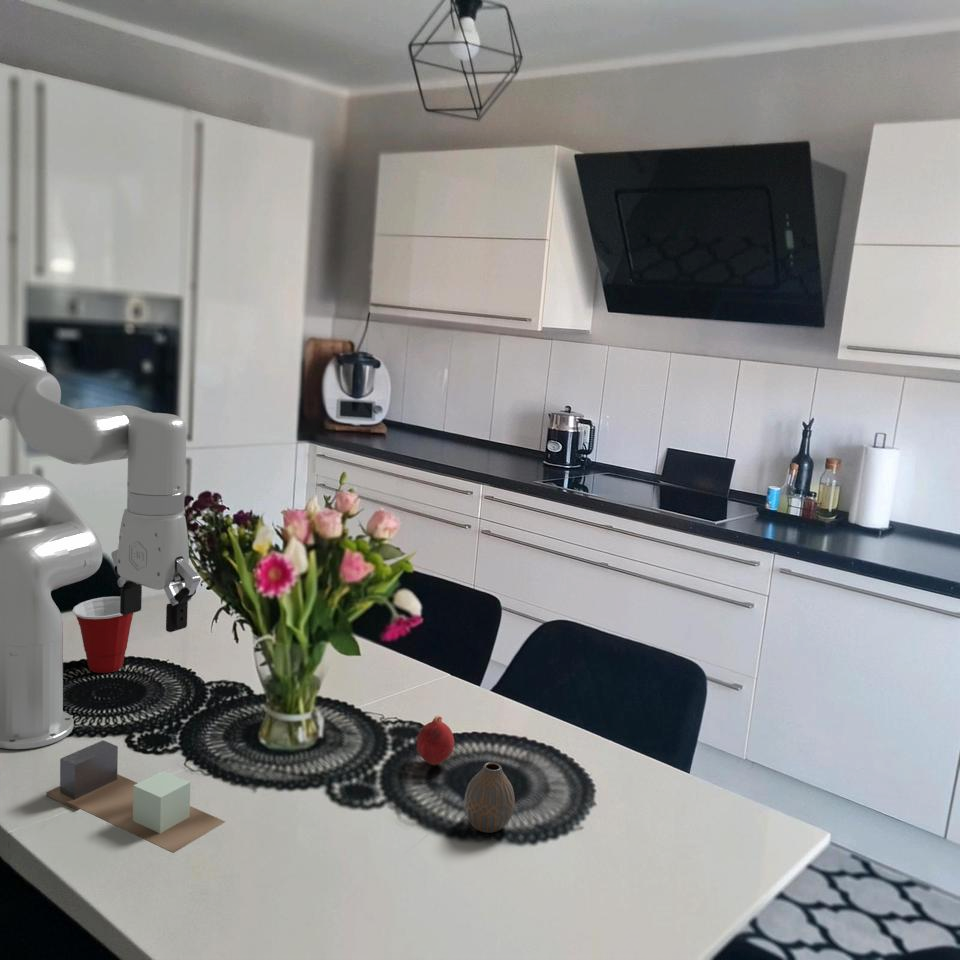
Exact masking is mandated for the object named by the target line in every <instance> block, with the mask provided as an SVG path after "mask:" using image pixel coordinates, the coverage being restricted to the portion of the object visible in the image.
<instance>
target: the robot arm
mask: <svg viewBox="0 0 960 960" xmlns="http://www.w3.org/2000/svg"><path fill="white" fill-rule="evenodd" d="M61 389H62V388H61V386H60V383H59V381H58V379H57V378H56V377H55V376H54V375H53V374H51V373H50V372H48V370H47V367H46V364H45V362H44V360H43V359H42V357H41V356H40V355H39V354H38V353H37V352H36V351H34V350H32V349H31V348H28V347H27V346H22V345H20V344H19V345H17V344H16V345H15V344H4V345H3V344H2V345H0V421H1V420H3V419H5V420H9V421H10V422H13V423H14V424H15V426H16V429H17V430H18V433H19V435H21V437H22V438H23V439H24V441H25V442H26V444H27V445H28V446H30V447H31V448H33V449H35V450H36V451H38V452H40V453H42V454H45V455H47V456H50V457H51V458H54V459H57V460H59V461H61V462H64V463H67V464H71V465H77V466H88V465H92V464H98V463H100V464H101V463H105V462H110V461H111V462H112V461H119V460H125V459H127V483H126V485H127V489H126V490H127V493H126V494H127V495H126V496H127V497H126V499H127V500H126V508H124V511H123V514H122V517H121V521H120V527H119V532H118V533H119V535H118V543H117V545H118V546H117V549H116V550H114V551H112V552H111V559H112V562H113V566H114V572H115V575H116V576H117V585H118V587H119V588H120V594H119V595H120V596H119V597H120V613H121V614H122V615H127V614H131V613H133V614H134V613H138V612H141V610H142V601H143V600H142V596H143V592H142V591H143V589H142V588H143V587H142V586H144V587H147V588H149V589H152V590H154V591H155V590H156V591H160V590H161V591H162V590H163V591H164V592H165V595H166V596H167V599H168V601H169V603H167V604H166V608H165V609H166V610H165V611H166V614H165V616H166V617H165V630H166V632H168V633H172V632H173V633H174V632H176V631H179V630H183V629H185V628H187V626H188V606H189V605H188V604H189V602H191V600H192V598H193V596H195V594H196V593H197V588H198V586H199V584H200V582H201V577H200V575H199V574H198V573H197V572H196V571H195V570H194V569H193V568H192V567H191V565H190V564H189V563H190V554H189V552H190V551H189V550H190V549H189V536H188V535H189V534H188V526H187V520H186V516H185V490H186V461H187V460H186V459H187V457H186V454H187V425H186V424H187V423H186V422H185V420H184V419H183V418H182V417H181V416H178V415H177V414H171V413H164V412H163V413H162V412H152V411H150V410H147V409H143V408H141V407H139V406H134V405H127V404H122V405H111V406H110V405H109V406H98V407H97V406H96V407H88V408H86V407H85V408H80V409H78V408H74V407H70V406H67V405H65V404H62V403H61V399H62V391H61ZM85 519H86V518H84V517H83V516H82V514H80V513H79V511H78V510H77V509H76V508H75V507H74V506H73V504H72V503H71V502H70V501H69V500H68V499H67V497H66V496H65V495H64V494H63V493H62V491H60V490H59V488H58V487H57V486H56V485H55V484H54V483H53V482H51V481H50V479H49V480H48V479H47V478H45V477H43V476H41V475H38V474H34V473H20V474H12V475H6V476H0V749H6V750H29V749H37V748H41V747H45V746H48V745H52V744H54V743H57V742H59V741H61V740H63V739H64V738H66V737H67V736H69V735H70V734H71V732H72V731H73V730H74V719H73V716H72V715H71V714H70V713H68V712H66V711H64V710H63V708H64V707H63V706H64V703H63V702H64V700H63V699H64V695H63V693H64V690H63V689H64V687H63V686H64V680H63V679H64V632H63V631H64V622H63V617H62V613H61V611H60V609H59V607H58V606H57V605H56V603H55V601H54V600H53V598H52V595H51V594H52V591H54V590H57V589H59V588H61V587H64V586H68V585H71V584H74V583H77V582H81V581H83V580H85V579H89V577H92V575H94V574H96V573H97V571H98V570H99V569H100V567H101V564H102V562H103V548H102V544H101V541H100V538H99V536H98V535H97V534H96V532H95V531H94V529H93V527H91V525H90V523H88V521H86V520H85ZM174 588H177V589H178V592H177V593H176V592H175V589H174Z"/></svg>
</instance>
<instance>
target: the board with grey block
mask: <svg viewBox="0 0 960 960" xmlns="http://www.w3.org/2000/svg"><path fill="white" fill-rule="evenodd" d="M118 750H119V747H118V745H115V744H112V743H111V742H108V741H106V740H105V739H104V740H100V741H98V742H96V743H93V744H91V745H89V746H86V747H84V748H82V749H79V750H77V751H75V752H72V753H70V754H67V755H65V756H64V757H61V758H59V762H60V763H59V767H60V769H59V776H60V777H59V785H58V786H56V787H54V788H52V789H51V790H48V791H46V793H45V794H46V797H49V798H51V799H53V800H54V801H57V802H59V803H61V804H62V805H63V804H64V805H65V806H67V807H70V808H72V809H73V810H76V811H79V810H82V811H85V812H87V813H89V814H91V815H93V816H95V817H97V818H99V819H101V820H104V821H105V822H107V823H110V824H112V825H114V826H116V827H118V828H119V829H122V830H124V831H127V832H128V833H130V834H133V835H135V836H137V837H139V838H141V839H143V840H145V841H147V842H150V843H152V844H154V845H156V846H158V847H160V848H162V849H165V850H167V851H169V852H170V853H173V854H175V853H176V852H177V851H179V850H181V849H183V848H184V847H186V846H187V845H189V844H191V843H193V842H194V841H196V840H198V839H199V838H201V837H203V836H205V835H206V834H207V833H210V832H211V831H213V830H214V829H216V828H218V827H220V826H222V825H223V824H224V823H226V820H223V819H220V818H219V817H216V816H215V815H211V814H210V813H207V812H205V811H203V810H200V809H198V808H195V807H193V806H191V805H190V814H189V817H188V818H187V819H185V820H183V821H181V822H180V823H178V824H176V825H174V826H172V827H171V828H169V829H167V830H165V831H164V832H162V833H158V832H156V831H154V830H152V829H150V828H147V827H145V826H143V825H141V824H139V823H137V822H135V821H133V785H135V784H137V783H138V781H137V782H136V781H134V780H132V779H130V778H127V777H125V776H123V775H120V774H118V763H119V762H118V758H119V757H118V755H119V753H118V752H119V751H118Z"/></svg>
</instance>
